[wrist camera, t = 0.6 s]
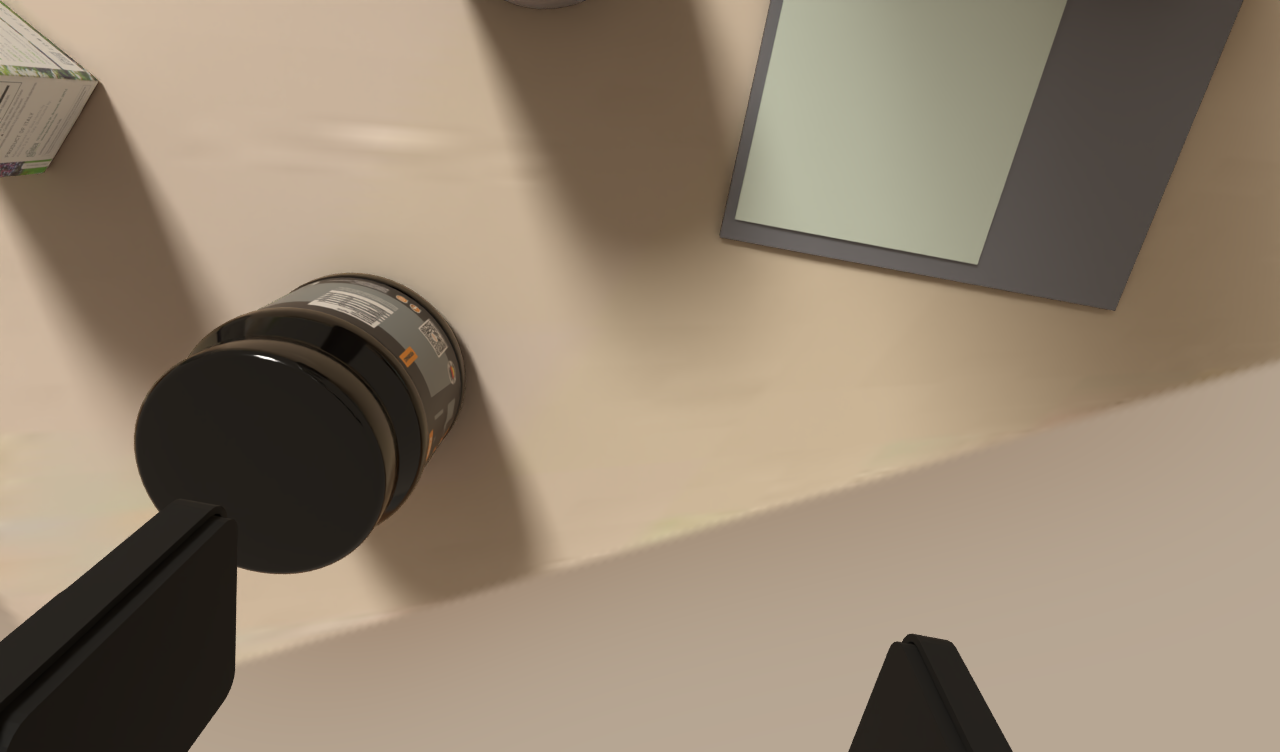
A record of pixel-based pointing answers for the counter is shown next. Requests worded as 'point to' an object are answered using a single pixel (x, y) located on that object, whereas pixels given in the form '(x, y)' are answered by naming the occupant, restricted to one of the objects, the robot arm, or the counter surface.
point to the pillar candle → (544, 3)
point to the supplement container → (305, 418)
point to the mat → (973, 135)
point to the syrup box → (35, 96)
